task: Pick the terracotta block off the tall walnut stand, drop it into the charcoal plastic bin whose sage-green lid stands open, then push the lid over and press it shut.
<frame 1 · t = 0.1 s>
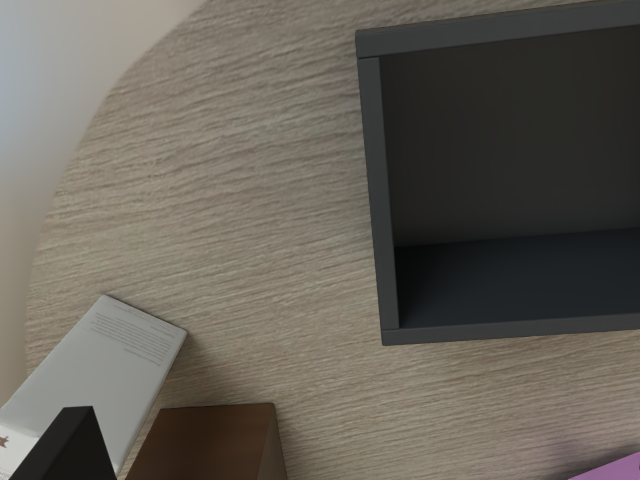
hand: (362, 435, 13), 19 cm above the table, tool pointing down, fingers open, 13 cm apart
stand: (226, 451, 39), on the table
cosmetic box: (140, 332, 36), on the table
bin: (510, 136, 29), on the table
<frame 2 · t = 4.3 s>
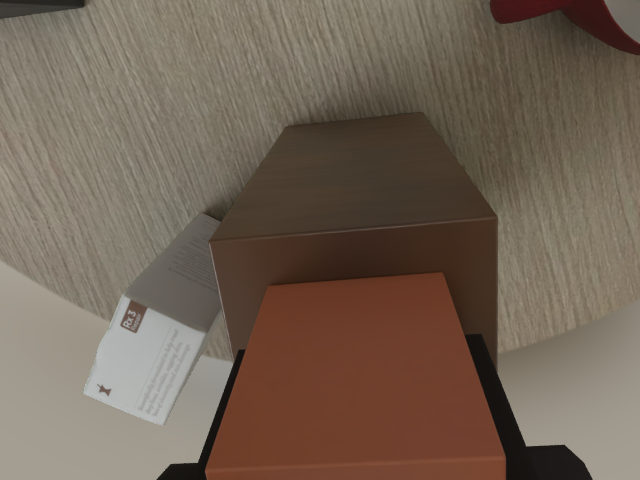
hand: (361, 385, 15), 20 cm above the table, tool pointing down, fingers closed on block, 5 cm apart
stand: (359, 185, 33), on the table
block: (361, 352, 16), point 18 cm above the table, touching gripper, stand
cosmetic box: (212, 257, 36), on the table
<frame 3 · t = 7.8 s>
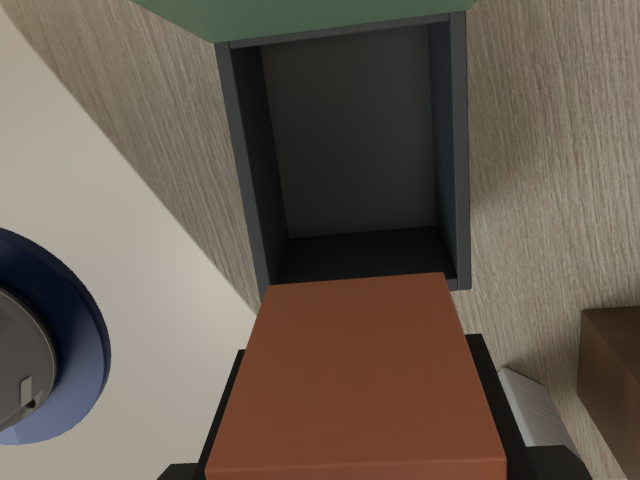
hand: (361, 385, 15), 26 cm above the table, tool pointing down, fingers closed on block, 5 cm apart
stand: (630, 349, 44), on the table
block: (361, 352, 16), point 25 cm above the table, touching gripper
cosmetic box: (502, 396, 46), on the table
bin: (352, 136, 39), on the table
when the fingers open (10 cm above the table, at t = 11.5 s): block drops 7 cm, resting on bin.
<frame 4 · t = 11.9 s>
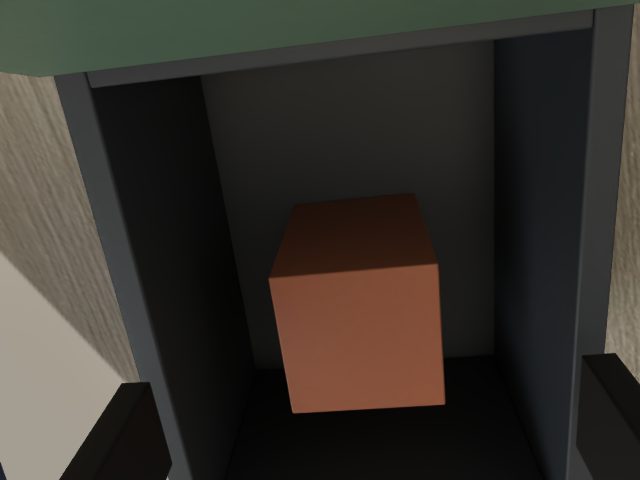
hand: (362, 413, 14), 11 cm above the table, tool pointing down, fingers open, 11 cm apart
block: (359, 254, 23), point 1 cm above the table, touching bin
bin: (358, 214, 23), on the table
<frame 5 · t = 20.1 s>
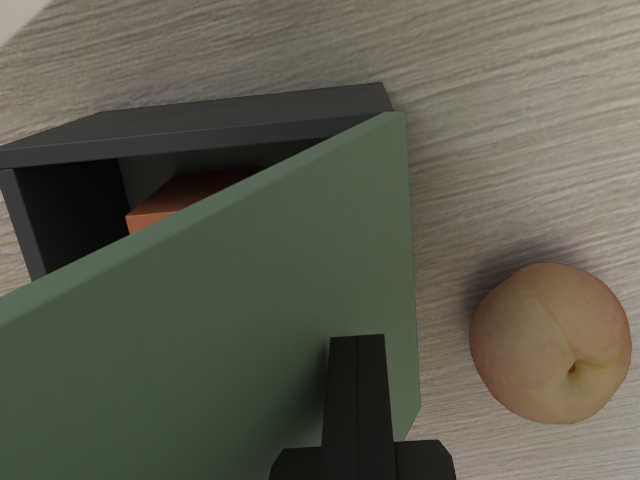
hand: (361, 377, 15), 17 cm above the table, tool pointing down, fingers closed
fruit: (524, 302, 33), on the table
bin lid: (299, 402, 15), point 18 cm above the table, hinge at 65.5°, touching gripper
block: (225, 213, 31), point 1 cm above the table, touching bin
bin: (254, 208, 32), on the table
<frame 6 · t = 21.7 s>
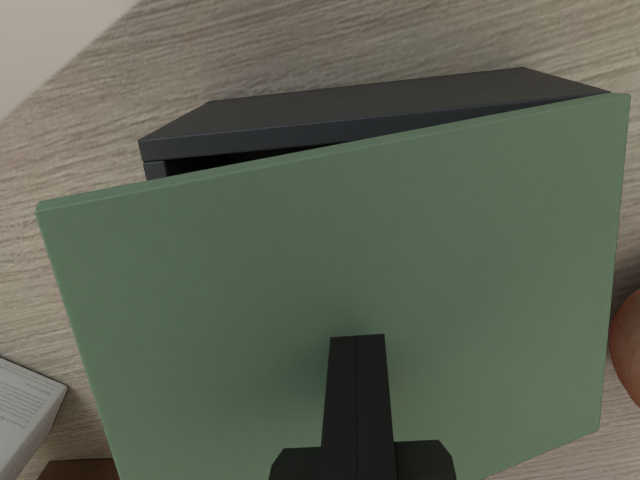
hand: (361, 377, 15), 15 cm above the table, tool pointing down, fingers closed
bin lid: (392, 345, 16), point 14 cm above the table, hinge at 24.4°, touching gripper
cosmetic box: (23, 386, 36), on the table
bin: (371, 205, 29), on the table
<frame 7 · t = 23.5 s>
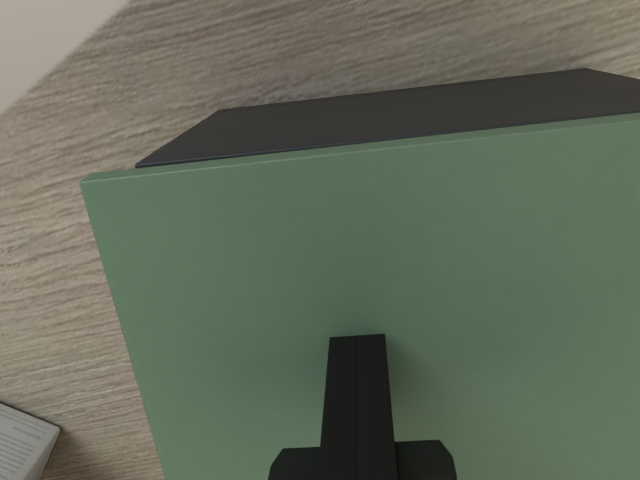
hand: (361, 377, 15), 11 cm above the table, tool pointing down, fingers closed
bin lid: (419, 357, 16), point 11 cm above the table, hinge at 2.0°, touching gripper
cosmetic box: (11, 427, 32), on the table
bin: (405, 227, 25), on the table
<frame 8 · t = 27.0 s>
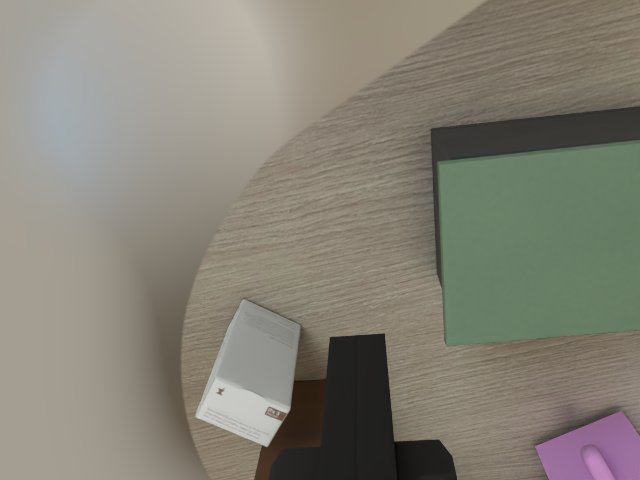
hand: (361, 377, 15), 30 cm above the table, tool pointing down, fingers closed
stand: (321, 413, 53), on the table
teapot: (591, 463, 54), on the table
bin lid: (574, 246, 34), point 11 cm above the table, hinge at 2.0°
cosmetic box: (266, 326, 50), on the table
bin: (531, 195, 44), on the table
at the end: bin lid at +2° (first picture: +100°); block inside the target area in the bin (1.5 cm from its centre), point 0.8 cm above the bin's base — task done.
